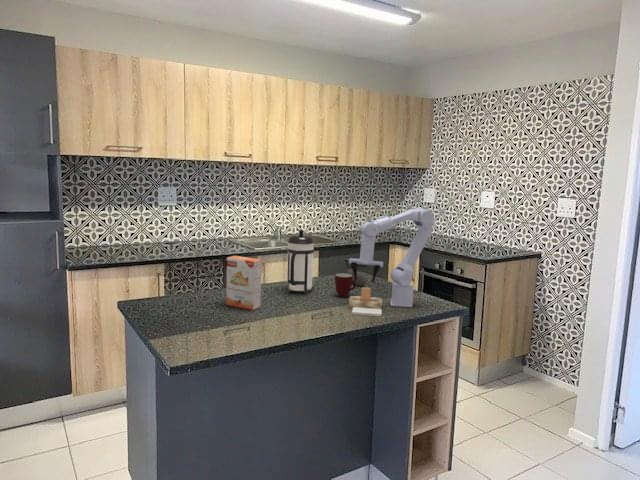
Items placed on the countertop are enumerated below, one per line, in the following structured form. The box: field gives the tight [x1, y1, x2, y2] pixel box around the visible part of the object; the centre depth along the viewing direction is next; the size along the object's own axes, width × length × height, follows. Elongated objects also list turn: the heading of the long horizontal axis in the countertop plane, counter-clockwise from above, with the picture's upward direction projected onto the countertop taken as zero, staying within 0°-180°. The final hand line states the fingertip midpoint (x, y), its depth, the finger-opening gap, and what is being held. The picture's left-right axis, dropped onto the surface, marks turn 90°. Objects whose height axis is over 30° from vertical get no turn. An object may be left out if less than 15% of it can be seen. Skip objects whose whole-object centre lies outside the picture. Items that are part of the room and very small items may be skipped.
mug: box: [334, 272, 357, 298], centre depth 222 cm, size 10×8×10 cm
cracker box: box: [226, 255, 262, 311], centre depth 199 cm, size 14×6×21 cm, turn 62°
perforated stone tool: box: [345, 268, 366, 287], centre depth 246 cm, size 15×5×7 cm, turn 28°
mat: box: [351, 307, 383, 317], centre depth 198 cm, size 12×7×1 cm, turn 83°
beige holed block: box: [348, 295, 383, 309], centre depth 207 cm, size 14×9×3 cm, turn 83°
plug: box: [360, 286, 372, 301], centre depth 206 cm, size 4×4×8 cm
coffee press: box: [284, 229, 315, 296], centre depth 224 cm, size 17×16×30 cm
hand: (364, 281), depth 205 cm, fingers open, 7 cm apart
